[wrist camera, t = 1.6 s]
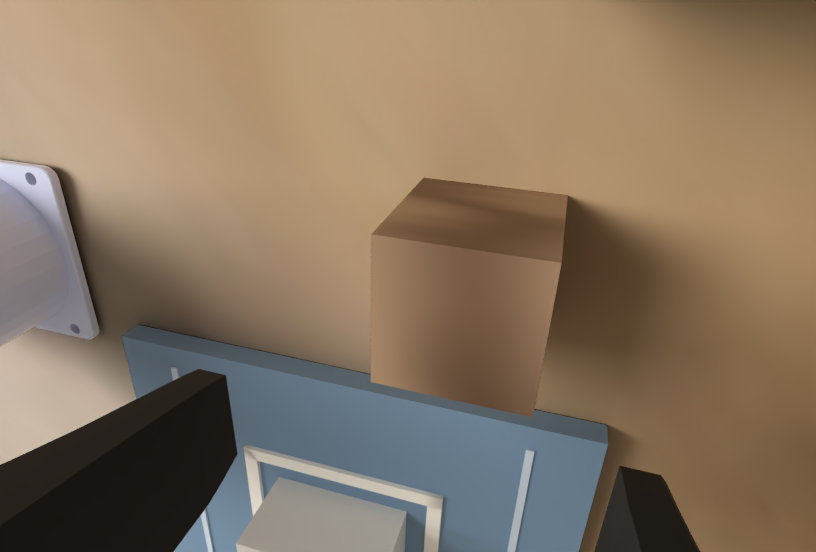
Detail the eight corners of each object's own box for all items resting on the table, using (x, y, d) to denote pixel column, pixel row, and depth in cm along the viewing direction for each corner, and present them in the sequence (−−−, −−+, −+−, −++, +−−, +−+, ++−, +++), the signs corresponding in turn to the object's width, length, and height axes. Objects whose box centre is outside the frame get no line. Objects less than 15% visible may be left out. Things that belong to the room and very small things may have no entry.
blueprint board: (196, 579, 32) (183, 598, 31) (137, 324, 24) (117, 339, 23) (535, 692, 28) (533, 719, 27) (607, 425, 19) (608, 448, 18)
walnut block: (417, 298, 19) (370, 382, 15) (424, 177, 17) (371, 234, 13) (545, 321, 18) (533, 417, 14) (568, 194, 16) (561, 263, 12)
